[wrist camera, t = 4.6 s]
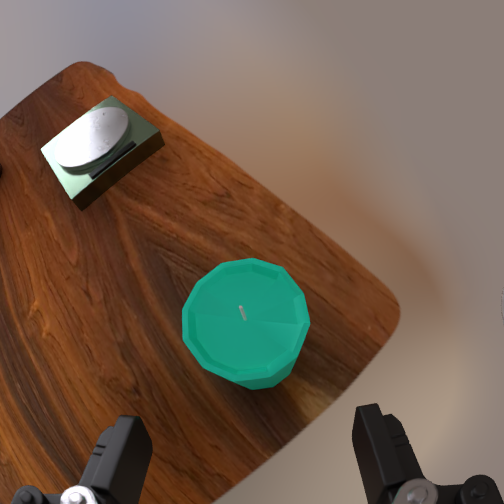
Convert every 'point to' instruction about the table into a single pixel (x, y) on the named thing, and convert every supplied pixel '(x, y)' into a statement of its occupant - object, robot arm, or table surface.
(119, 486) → the robot arm
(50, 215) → the table surface
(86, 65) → the table surface
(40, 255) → the table surface
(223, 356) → the candle
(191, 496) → the table surface
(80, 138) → the scale
